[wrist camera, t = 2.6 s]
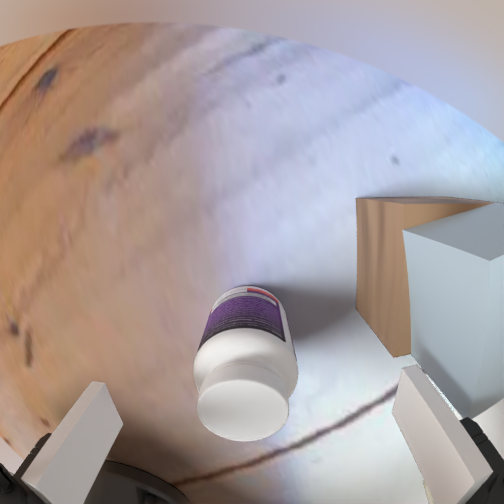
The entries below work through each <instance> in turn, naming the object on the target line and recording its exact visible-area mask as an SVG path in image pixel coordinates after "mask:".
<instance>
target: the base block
mask: <svg viewBox="0 0 504 504" xmlns="http://www.w3.org/2000/svg"><path fill="white" fill-rule="evenodd" d="M492 203H495V202H489V201H481V200H472V199H463V198H454V197H375V198H356V214H357V295H356V310H357V311H358V312H359V314H360V315H361V316H362V317H363V319H364V320H365V321H366V322H367V324H368V325H369V326H370V328H371V329H372V330H373V332H374V333H375V334H376V335H377V337H378V338H379V339H380V341H381V342H382V343H383V345H384V346H385V347H386V349H387V350H388V351H389V353H390V354H391V355H392V357H393V358H395V357H399V356H404V355H408V354H411V316H410V297H409V283H408V272H407V262H406V254H405V246H404V238H403V232H402V230H404V229H407V228H411V227H414V226H418V225H421V224H425V223H428V222H432V221H435V220H438V219H442V218H445V217H449V216H452V215H455V214H459V213H462V212H466V211H469V210H472V209H476V208H479V207H482V206H485V205H489V204H492Z"/></svg>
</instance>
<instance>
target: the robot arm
mask: <svg viewBox="0 0 504 504" xmlns="http://www.w3.org/2000/svg"><path fill="white" fill-rule="evenodd" d="M392 414H393V416H394V418H395V420H396V422H397V424H398V426H399V428H400V430H401V432H402V434H403V436H404V438H405V440H406V442H407V444H408V446H409V448H410V450H411V453H412V455H413V457H414V459H415V461H416V463H417V465H418V467H419V469H420V472H421V474H422V476H423V478H424V480H425V482H426V485H427V487H428V489H429V491H430V494H431V496H432V498H433V500H434V503H435V504H504V459H503V458H502V457H501V455H500V454H499V452H498V451H497V449H496V448H495V447H494V445H493V444H492V442H491V441H490V440H488V437H487V436H486V434H485V433H483V430H482V429H481V427H480V426H479V425H478V423H477V422H475V421H473V420H472V419H470V418H469V417H466V418H464V419H461V420H458V418H457V417H456V416H455V414H454V413H453V411H452V410H451V409H450V407H449V406H448V405H447V403H446V402H445V401H444V399H443V398H442V396H441V395H440V394H439V392H438V391H437V390H436V388H435V387H434V386H433V384H432V383H431V382H430V381H429V379H428V378H427V377H426V375H425V374H424V373H423V371H422V370H421V369H420V368H419V366H418V365H413V366H409V367H405V368H402V372H401V376H400V381H399V385H398V390H397V394H396V398H395V402H394V405H393V409H392ZM122 426H123V422H122V420H121V418H120V416H119V414H118V412H117V410H116V407H115V405H114V403H113V401H112V398H111V396H110V394H109V391H108V389H107V387H106V384H105V383H102V382H95V381H92V382H91V383H90V384H89V386H88V387H87V388H86V389H85V391H84V392H83V393H82V395H81V396H80V397H79V399H78V400H77V401H76V403H75V404H74V405H73V406H72V408H71V409H70V410H69V412H68V413H67V414H66V416H65V417H64V418H63V420H62V421H61V423H60V424H59V425H58V427H57V428H56V429H55V431H54V432H53V433H52V434H51V433H48V434H46V435H45V436H43V437H42V438H40V440H39V441H38V442H37V444H36V445H35V448H33V449H32V450H31V452H30V454H29V455H28V456H27V457H26V459H25V460H24V462H23V463H22V464H21V466H20V467H19V469H18V470H17V472H16V473H15V474H13V473H11V472H9V471H8V470H7V469H6V468H5V467H4V466H3V465H2V464H1V463H0V504H189V502H188V500H187V499H186V497H185V496H184V495H183V494H182V493H181V492H180V491H178V490H177V489H176V488H174V487H173V486H171V485H170V484H168V483H166V482H164V481H162V480H161V479H159V478H157V477H155V476H152V475H150V474H148V473H146V472H143V471H141V470H138V469H135V468H132V467H129V466H126V465H123V464H119V463H115V462H110V461H105V459H106V457H107V455H108V453H109V451H110V449H111V447H112V445H113V443H114V441H115V439H116V437H117V435H118V433H119V431H120V430H121V428H122Z"/></svg>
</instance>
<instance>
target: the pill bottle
mask: <svg viewBox="0 0 504 504" xmlns="http://www.w3.org/2000/svg"><path fill="white" fill-rule="evenodd" d="M193 377H194V382H195V385H196V387H197V389H198V391H199V398H198V402H197V413H198V416H199V418H200V420H201V422H202V423H203V425H204V426H205V427H206V428H207V429H209V430H210V431H211V432H213V433H214V434H216V435H218V436H221V437H223V438H226V439H230V440H234V441H255V440H260V439H263V438H266V437H269V436H271V435H273V434H275V433H276V432H278V431H279V430H280V429H281V428H282V427H283V426H284V424H285V423H286V421H287V419H288V416H289V399H288V398H289V397H290V396H291V394H292V393H293V391H294V389H295V387H296V384H297V380H298V366H297V359H296V355H295V350H294V347H293V342H292V338H291V334H290V329H289V325H288V321H287V316H286V313H285V310H284V308H283V306H282V304H281V303H280V301H279V300H278V299H277V298H276V297H275V296H274V295H273V294H271V293H270V292H268V291H266V290H264V289H262V288H259V287H254V286H241V287H237V288H234V289H231V290H229V291H227V292H226V293H224V294H223V295H222V296H220V297H219V299H218V300H217V301H216V302H215V304H214V306H213V308H212V310H211V312H210V315H209V318H208V322H207V325H206V328H205V331H204V334H203V337H202V340H201V343H200V346H199V349H198V351H197V354H196V357H195V359H194V365H193Z"/></svg>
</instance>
